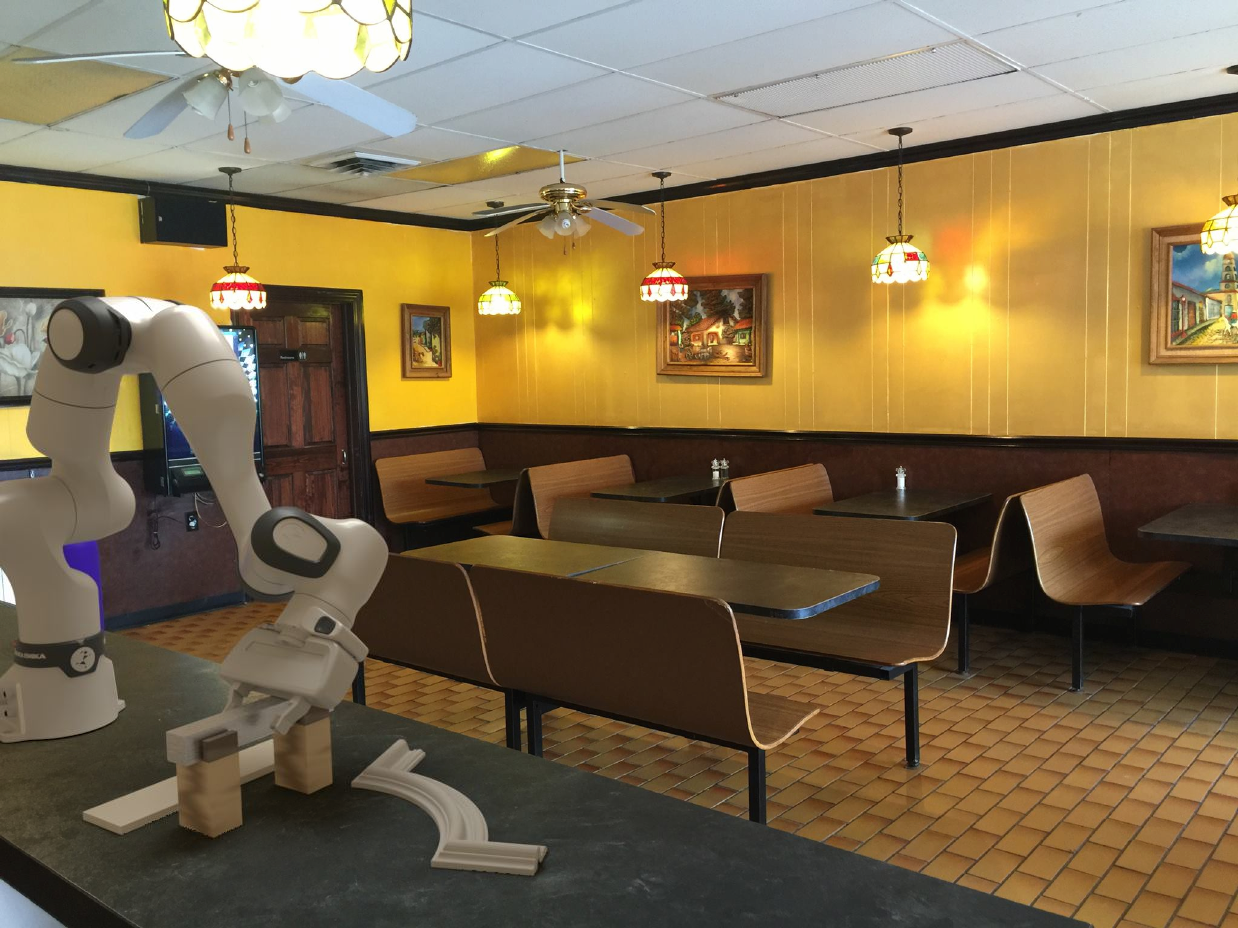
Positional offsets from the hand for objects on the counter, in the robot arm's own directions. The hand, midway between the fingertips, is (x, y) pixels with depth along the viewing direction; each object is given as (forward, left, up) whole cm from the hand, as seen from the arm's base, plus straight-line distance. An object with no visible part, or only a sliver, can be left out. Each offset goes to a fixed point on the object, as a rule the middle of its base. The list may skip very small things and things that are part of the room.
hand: (251, 725), depth 124 cm
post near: (0, -6, -10) cm, 12 cm away
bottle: (-87, +28, -10) cm, 92 cm away
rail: (0, +1, -1) cm, 1 cm away
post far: (0, +8, -10) cm, 13 cm away
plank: (-11, +1, -10) cm, 15 cm away
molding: (+21, +12, -11) cm, 27 cm away
